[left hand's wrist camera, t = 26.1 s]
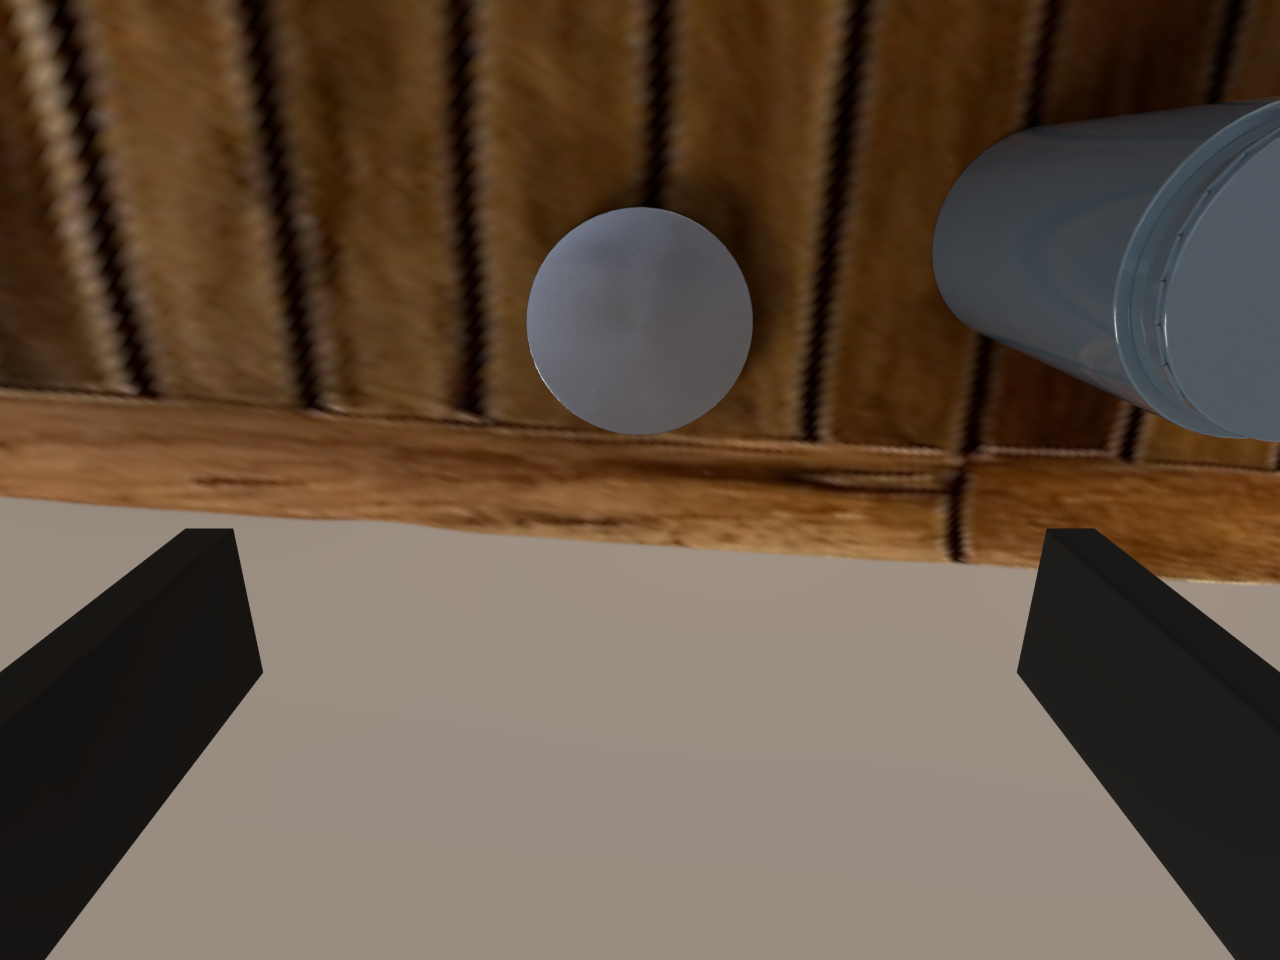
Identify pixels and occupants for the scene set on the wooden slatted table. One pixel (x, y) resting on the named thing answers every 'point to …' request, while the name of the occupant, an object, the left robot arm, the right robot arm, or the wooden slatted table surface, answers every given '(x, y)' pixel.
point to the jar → (1132, 258)
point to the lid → (639, 320)
